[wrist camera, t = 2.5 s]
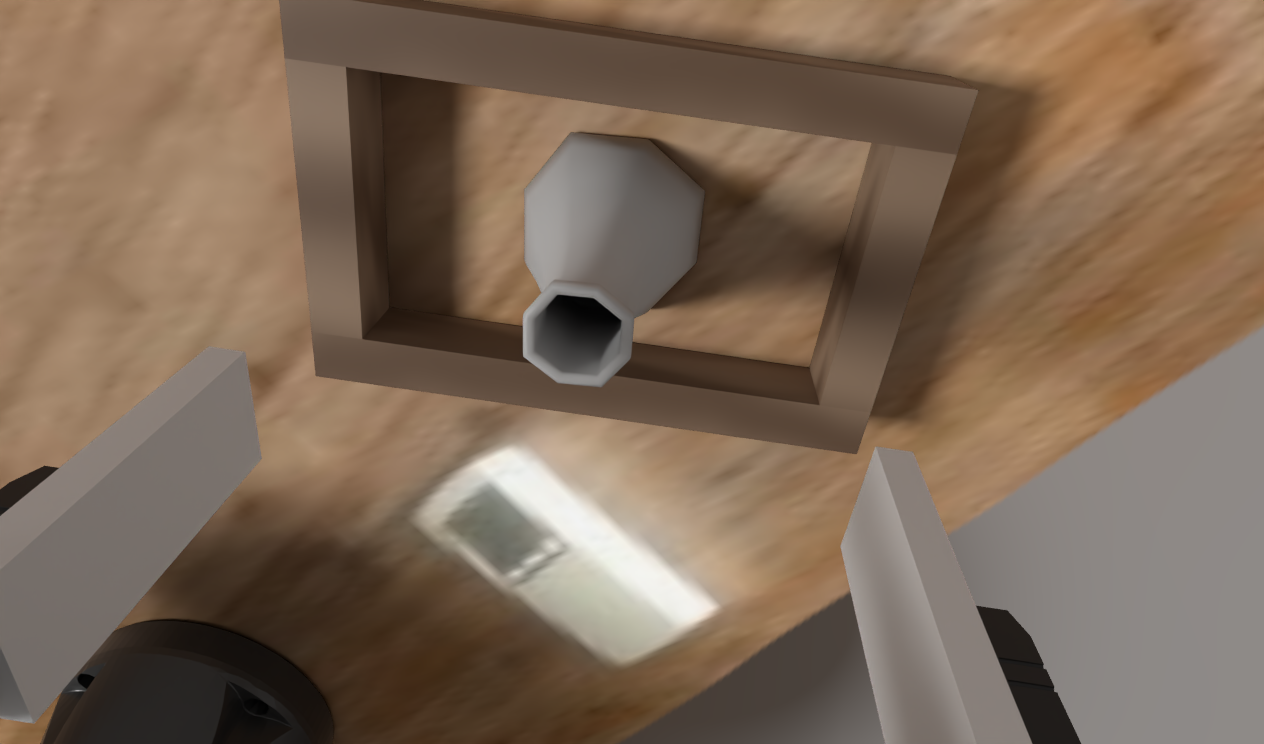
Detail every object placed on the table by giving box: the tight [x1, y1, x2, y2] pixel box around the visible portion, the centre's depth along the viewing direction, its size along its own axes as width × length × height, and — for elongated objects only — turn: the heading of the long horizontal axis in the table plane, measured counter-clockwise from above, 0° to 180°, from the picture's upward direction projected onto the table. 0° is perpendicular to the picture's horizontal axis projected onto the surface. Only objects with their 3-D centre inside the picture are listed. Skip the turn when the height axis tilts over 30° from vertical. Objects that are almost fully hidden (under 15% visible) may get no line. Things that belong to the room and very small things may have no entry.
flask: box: [523, 132, 705, 387], centre depth 25 cm, size 7×7×10 cm
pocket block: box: [279, 0, 979, 454], centre depth 28 cm, size 14×22×3 cm, turn 83°
